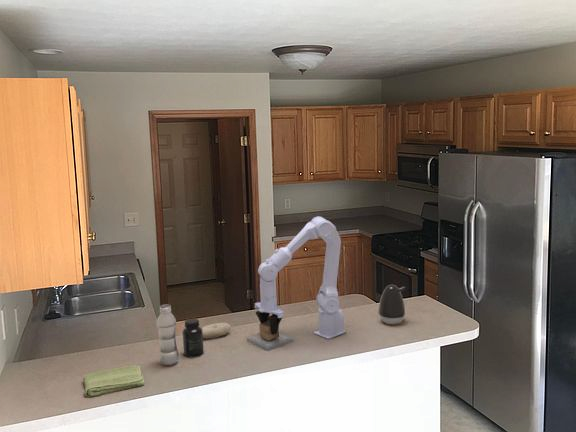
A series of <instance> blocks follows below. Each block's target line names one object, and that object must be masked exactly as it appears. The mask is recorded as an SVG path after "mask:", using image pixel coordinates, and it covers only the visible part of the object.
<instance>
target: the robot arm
mask: <svg viewBox="0 0 576 432" xmlns="http://www.w3.org/2000/svg"><path fill="white" fill-rule="evenodd" d="M318 236H319V237H320V238H321V239H322V240H323V241H324V242H325V243H326V247H325V253H324V254H325V256H324V265H323V266H324V267H323V273H322V284H321V285H320V287H319V291H318V293H317V295H316V302H317V303H316V304H318V305H319V307H318V330H316V331H314V332H313V334H315V335H317V336H319V337H322V338H324V339H327V340H329V339H332V338H335V337H338V336H340V335H342V334H346V332H347V331H346V330H345V314H344V312H343V310H342V309H341V308H340V307H341V303H340V300H339V292H338V288H337V283H338V274H339V266H340V265H339V263H340V256H341V247H342V245H341V244H342V239H341V236H340V234H339V232H338V231H337V226H335V224H333V223H332V222H331V221H330V220H327V219H326V218H324V217H323V216H320V215H319V216H315V217H313V218H312V219H311V221H308V222H307V223H306V224H305V225H304V227H303V228H302V229H301V230H300V231H299V232H298V233H297V235H295V236H294V237H293V239H292V240H291V241H290V242H288V244H287V245H285V246H284V247H279V248H276V249H275V250H274V253H273V254H272V255H271V256H270V257H269V258H266V259H265V262H262V263H260V265H259V266H258V268H257V273H258V275H259V282H260V283H259V293H260V302H259V301H258V302H255V303H254V309H256V311H255V315H256V316H257V318H258V320H259V324H260V323H263V322H266V321H269V322H270V327H271V333H272V335H274V334H276V333H277V331H278V327H279V328H280V323H281V321H282V319H283V318H284V316H285V315H284V313H285V312H284V311H283V310H281V309H280V307H278V306H277V305H278V304H277V283H276V279H277V277H278V273H279V272H280V271H281V270H282V269H283V268H284V267H285V266H287V264H289V262H290V261H291V260H292V259H293V258H292V257H293V255H294V253H295V252H296V251H297V250H299V248H301V247H302V246H303V245H304V244H305V243H306V242H308V241H309V240H315V239H319V237H318ZM257 309H258V311H257ZM270 314H271V315H270Z"/></svg>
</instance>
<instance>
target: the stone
mask: <svg viewBox="0 0 576 432" xmlns="http://www.w3.org/2000/svg"><path fill="white" fill-rule="evenodd" d="M201 328H202V332H203V339H206V340H207V339H215V338H219V337H221V336H225V335H226V334H228V333H229V332H230V331H231V329H232V326H231V325H230V324H229V323H227V322H216V323H211V324H207V325H205V326H203V327H201Z"/></svg>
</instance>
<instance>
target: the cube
mask: <svg viewBox="0 0 576 432" xmlns="http://www.w3.org/2000/svg"><path fill="white" fill-rule="evenodd" d="M279 333H280V326H279V327H278V331H277V333H276V334H274V335H272V333H271V327H270V322H269V321H266V322H263V323H260V322H259V334H260V337H262V338H264V339H266V340H268V341H269V340H272V339H274V338H277V337H279Z"/></svg>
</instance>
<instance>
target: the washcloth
mask: <svg viewBox="0 0 576 432" xmlns="http://www.w3.org/2000/svg"><path fill="white" fill-rule="evenodd" d="M82 380H83V385H84V395H85V396H86V397H88V398H92V397H97V396H103V395H107V394H111V393H116V392H119V391H124V390H126V389H127V390H128V389H131V388H137V387H141V386H143V385H145V381H144V374H143V373H142V371H141V366H140V365H138V364H137V365H135V364H134V365H125V366H124V365H123V366H121V367H120V366H119V367H117V368H115V367H114V368H111V369H107V370H99V371H95V372H89V373H88V374H86V375H84V376H83V377H82Z"/></svg>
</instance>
